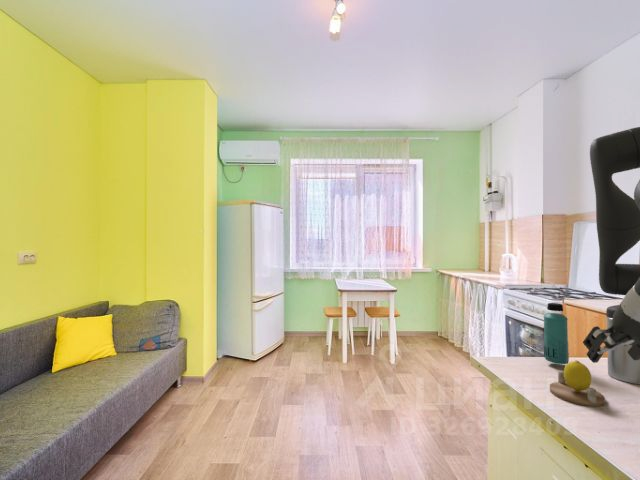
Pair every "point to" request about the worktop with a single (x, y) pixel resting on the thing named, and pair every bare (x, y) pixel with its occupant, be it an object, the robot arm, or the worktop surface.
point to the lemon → (577, 376)
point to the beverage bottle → (556, 335)
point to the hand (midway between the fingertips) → (611, 357)
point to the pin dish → (576, 393)
